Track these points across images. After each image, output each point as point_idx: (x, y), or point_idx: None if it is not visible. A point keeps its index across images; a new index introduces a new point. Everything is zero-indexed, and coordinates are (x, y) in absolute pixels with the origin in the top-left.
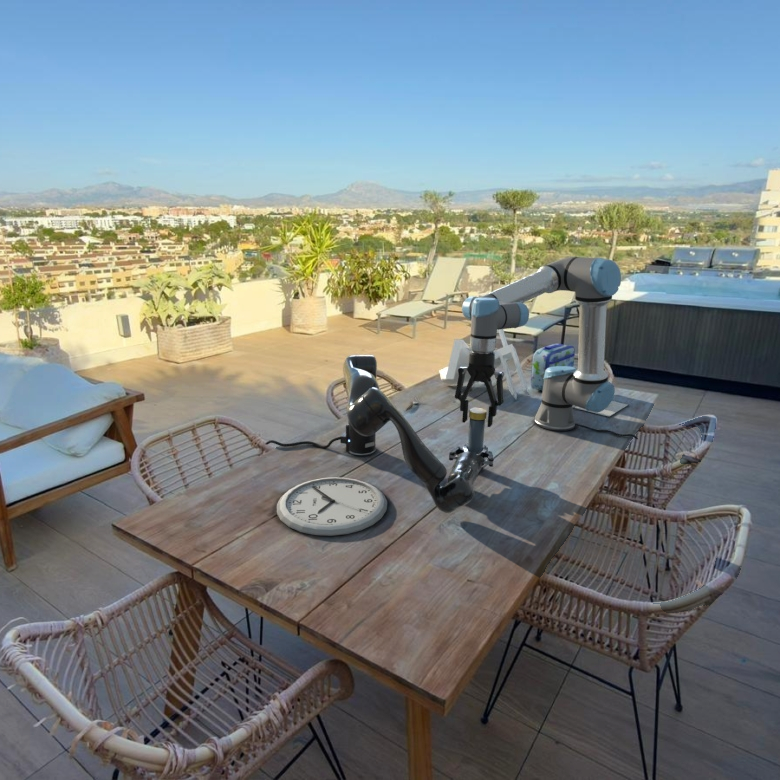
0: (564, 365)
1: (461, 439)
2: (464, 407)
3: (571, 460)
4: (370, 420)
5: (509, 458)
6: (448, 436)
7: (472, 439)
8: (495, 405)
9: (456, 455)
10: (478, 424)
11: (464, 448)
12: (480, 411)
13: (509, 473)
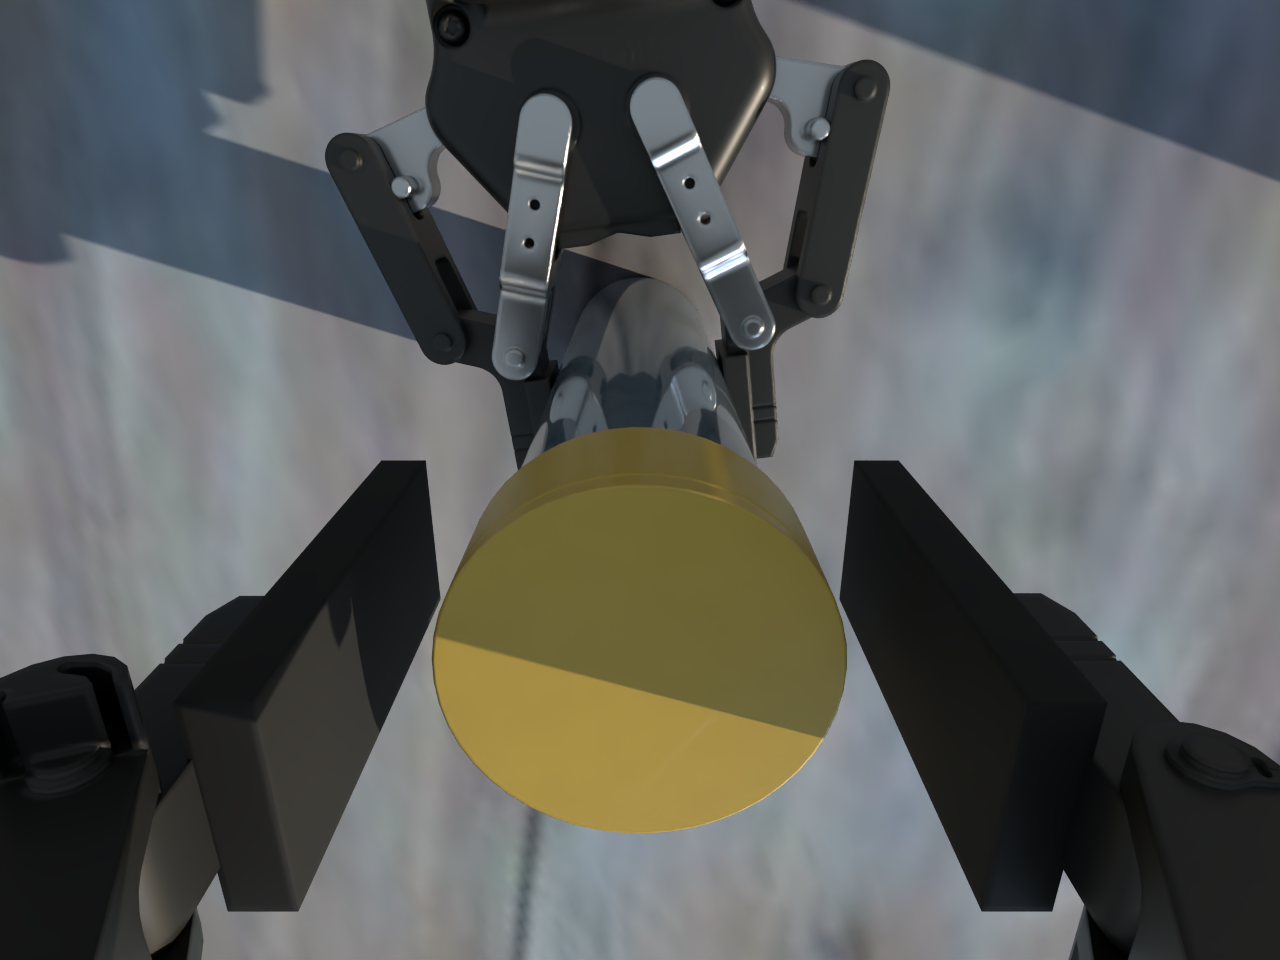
0: None
1: (891, 803)
2: (990, 613)
3: None
4: None
5: None
6: None
7: (660, 347)
8: (15, 771)
9: (787, 96)
10: (575, 429)
11: (742, 294)
12: (563, 637)
13: (345, 405)
